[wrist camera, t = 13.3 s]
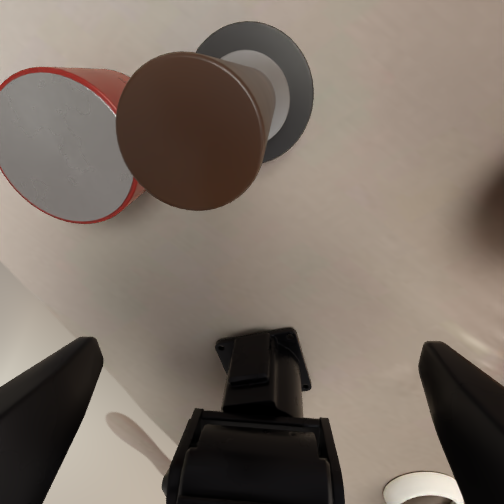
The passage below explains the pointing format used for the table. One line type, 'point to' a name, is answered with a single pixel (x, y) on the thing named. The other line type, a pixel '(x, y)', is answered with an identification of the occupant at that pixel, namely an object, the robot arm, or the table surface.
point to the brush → (214, 115)
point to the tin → (65, 142)
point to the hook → (422, 487)
